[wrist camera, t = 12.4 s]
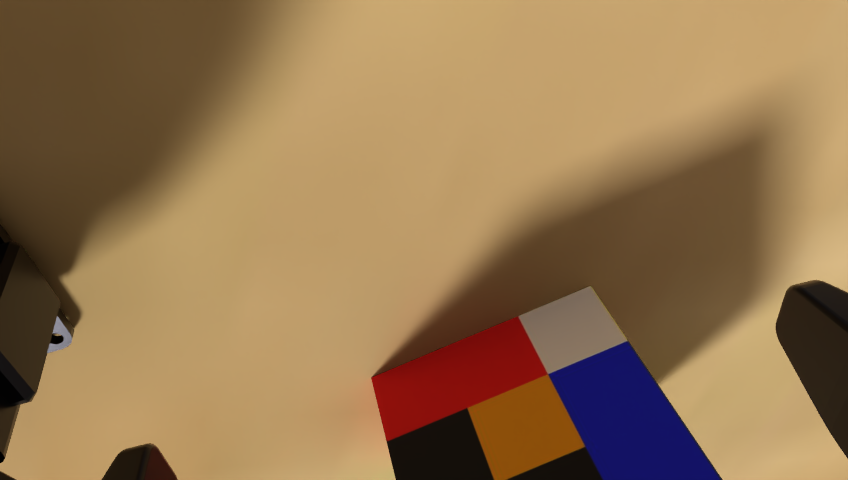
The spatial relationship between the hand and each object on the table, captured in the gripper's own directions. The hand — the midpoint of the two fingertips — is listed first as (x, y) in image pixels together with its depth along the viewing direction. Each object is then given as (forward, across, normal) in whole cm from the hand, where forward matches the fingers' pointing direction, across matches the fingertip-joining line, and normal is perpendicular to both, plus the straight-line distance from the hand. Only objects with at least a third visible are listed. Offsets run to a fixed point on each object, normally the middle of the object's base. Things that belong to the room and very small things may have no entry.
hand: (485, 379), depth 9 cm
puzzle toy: (+13, -4, +18) cm, 23 cm away
